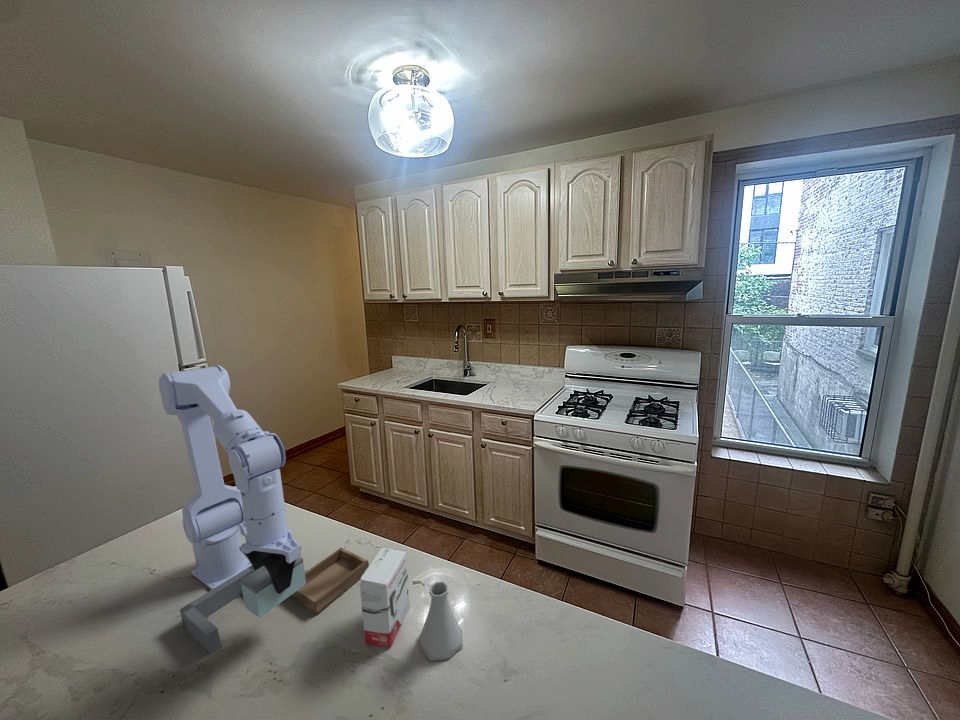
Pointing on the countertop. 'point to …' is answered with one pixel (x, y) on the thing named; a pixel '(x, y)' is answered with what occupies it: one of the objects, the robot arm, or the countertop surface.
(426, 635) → the flask
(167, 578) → the countertop surface
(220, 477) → the robot arm
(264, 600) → the pale grey block
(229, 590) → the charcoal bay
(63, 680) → the countertop surface
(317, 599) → the walnut tray
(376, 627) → the ink box
